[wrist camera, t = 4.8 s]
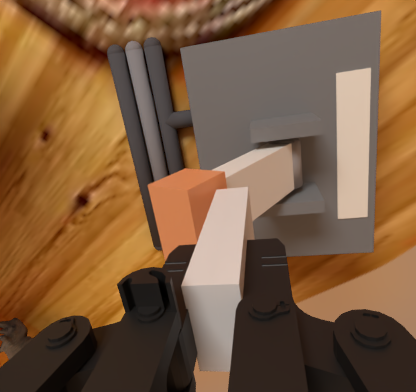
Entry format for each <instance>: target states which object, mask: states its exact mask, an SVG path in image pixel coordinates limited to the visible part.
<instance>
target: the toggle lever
mask: <svg viewBox="0 0 416 392" xmlns="http://www.w3.org/2000/svg"><path fill="white" fill-rule="evenodd" d="M302 185H303V180H302V161H301V142H300V138H290V139H282V140H274V141H269V142H268V143H267V144H265V145H263V146H261V147H259V148H256V149H254V150H252V151H250V152H248V153H246V154H244V155H242V156H240V157H238V158H236V159H234V160H231V161H229V162H227V163H225V164H223V165H221V166H219V167H217V168H215V169H213V170H200V169H187V168H185V169H183V170H181V171H178V172H176V173H174V174H171V175H169V176H167V177H164V178H162V179H160V180H158V181H155V182H153V183H151V184H148V189H149V193H150V198H151V202H152V206H153V211H154V215H155V219H156V223H157V228H158V232H159V236H160V241H161V245H162V249H163V254H164V258H165V261H166V259H167V257H168V255H169V253H171V252H172V251H173V250H174V249H175V248H176V247H177V246H179V245H191V244H197V241H198V239H199V236H200V233H201V230H202V228H203V225H204V222H205V220H206V217H207V214H208V211H209V209H210V206H211V203H212V200H213V198H214V195H215V192H216V190H218V189H229V188H239V187H248V188H249V196H250V205H251V213H252V221H254V220H255V219H256V218H257V217H259V216H260V215H261V214H263V213H264V212H265V211H267V210H268V209H269V208H270V207H272V206H273V205H274V204H276V203H277V202H278V201H280V200H281V199H282V198H283V197H285V196H286V195H287V194H289V193H290V192H291V191H293V190H294V189H297V188H299V187H301V186H302Z"/></svg>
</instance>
